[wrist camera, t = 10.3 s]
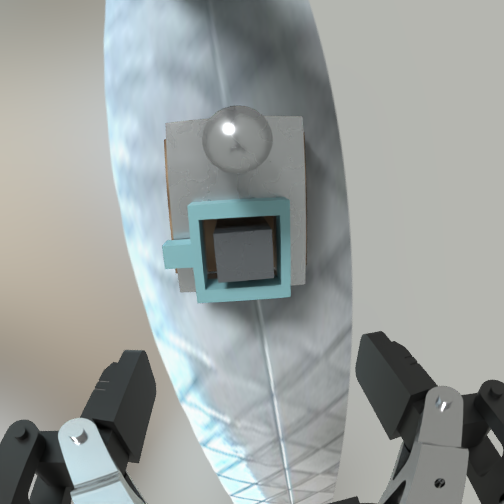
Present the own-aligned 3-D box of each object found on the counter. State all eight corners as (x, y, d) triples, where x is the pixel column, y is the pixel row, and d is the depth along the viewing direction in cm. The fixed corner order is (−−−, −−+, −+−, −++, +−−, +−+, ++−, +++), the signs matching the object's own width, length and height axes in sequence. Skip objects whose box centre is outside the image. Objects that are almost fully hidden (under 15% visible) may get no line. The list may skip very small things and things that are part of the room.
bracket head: (164, 204, 24) (157, 208, 22) (284, 197, 25) (289, 200, 22) (174, 292, 26) (170, 304, 24) (285, 285, 27) (290, 296, 25)
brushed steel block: (217, 218, 28) (213, 233, 22) (262, 215, 28) (271, 229, 22) (221, 257, 29) (218, 282, 23) (264, 253, 30) (274, 278, 23)
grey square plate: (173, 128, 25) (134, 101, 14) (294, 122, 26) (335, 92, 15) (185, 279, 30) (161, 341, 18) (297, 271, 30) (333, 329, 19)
